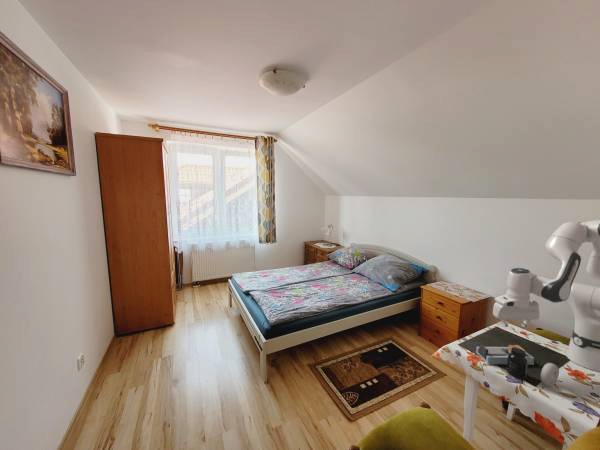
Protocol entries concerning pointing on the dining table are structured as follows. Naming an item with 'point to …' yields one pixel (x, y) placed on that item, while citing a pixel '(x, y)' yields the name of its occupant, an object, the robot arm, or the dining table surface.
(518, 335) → the dining table surface
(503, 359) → the channel
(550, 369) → the donut
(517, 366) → the supplement bottle
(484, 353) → the grey block
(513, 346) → the block
